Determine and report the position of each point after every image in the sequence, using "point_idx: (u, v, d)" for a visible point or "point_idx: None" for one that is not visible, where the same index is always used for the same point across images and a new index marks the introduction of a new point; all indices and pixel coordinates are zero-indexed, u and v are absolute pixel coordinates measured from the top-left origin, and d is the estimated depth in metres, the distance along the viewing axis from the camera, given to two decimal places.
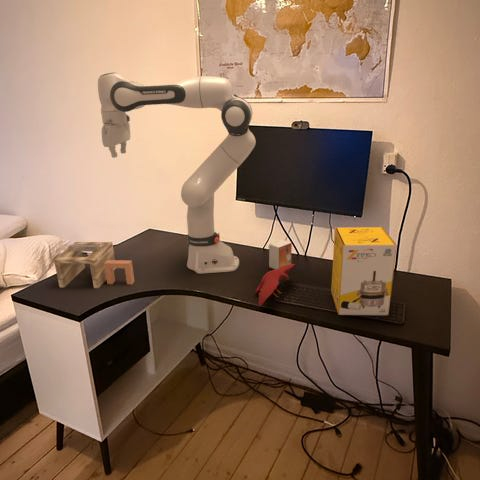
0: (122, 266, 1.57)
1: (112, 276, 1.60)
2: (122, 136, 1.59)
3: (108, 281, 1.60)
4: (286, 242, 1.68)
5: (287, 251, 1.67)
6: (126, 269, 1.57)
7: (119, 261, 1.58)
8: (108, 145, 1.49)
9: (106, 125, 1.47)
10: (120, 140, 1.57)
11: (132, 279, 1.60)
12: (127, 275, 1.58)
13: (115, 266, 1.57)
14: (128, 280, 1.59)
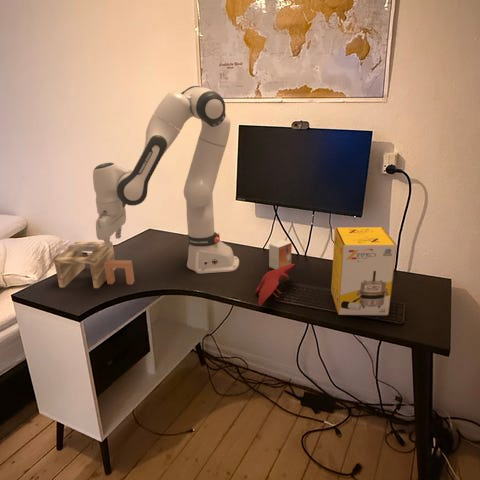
0: (122, 266, 1.57)
1: (112, 276, 1.60)
2: (117, 224, 1.53)
3: (108, 281, 1.60)
4: (286, 242, 1.68)
5: (287, 251, 1.67)
6: (126, 269, 1.57)
7: (119, 261, 1.58)
8: (102, 238, 1.44)
9: (101, 219, 1.42)
10: (115, 229, 1.51)
11: (132, 279, 1.60)
12: (127, 275, 1.58)
13: (115, 266, 1.57)
14: (128, 280, 1.59)
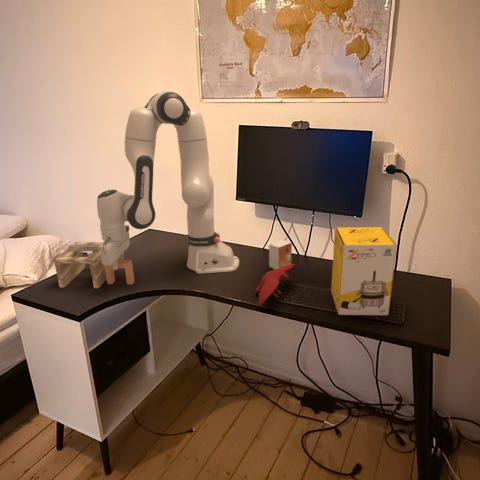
0: (122, 266, 1.57)
1: (112, 276, 1.60)
2: (121, 248, 1.57)
3: (108, 281, 1.60)
4: (286, 242, 1.68)
5: (287, 251, 1.67)
6: (126, 269, 1.57)
7: (119, 261, 1.58)
8: (107, 264, 1.47)
9: (105, 246, 1.46)
10: (119, 253, 1.55)
11: (132, 279, 1.60)
12: (127, 275, 1.58)
13: None
14: (128, 280, 1.59)
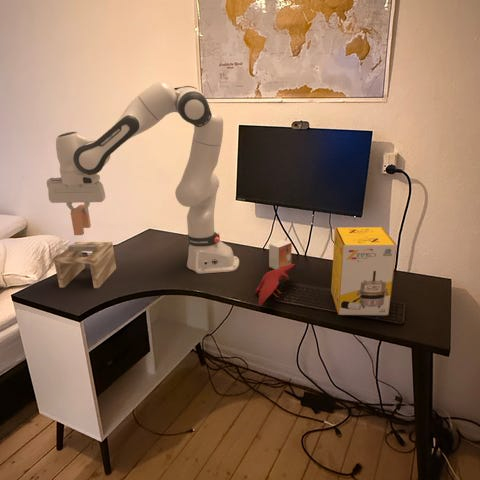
0: None
1: (83, 221, 1.59)
2: (78, 196, 1.51)
3: None
4: (286, 242, 1.68)
5: (287, 251, 1.67)
6: None
7: (79, 208, 1.54)
8: None
9: (49, 182, 1.50)
10: (72, 199, 1.51)
11: (76, 231, 1.52)
12: None
13: None
14: None
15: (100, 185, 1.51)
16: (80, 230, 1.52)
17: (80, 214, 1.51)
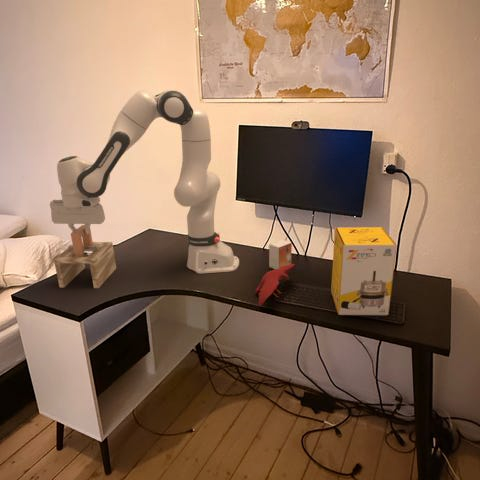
0: None
1: (85, 241, 1.64)
2: (79, 218, 1.55)
3: None
4: (286, 242, 1.68)
5: (287, 251, 1.67)
6: None
7: (80, 229, 1.58)
8: None
9: (52, 204, 1.55)
10: (73, 221, 1.56)
11: (76, 251, 1.57)
12: None
13: None
14: None
15: (99, 207, 1.54)
16: (80, 251, 1.57)
17: (80, 235, 1.56)
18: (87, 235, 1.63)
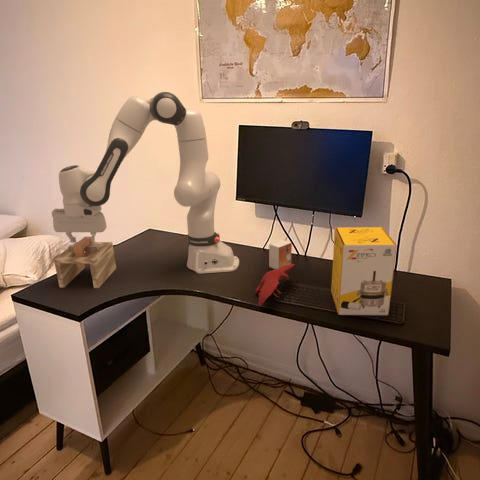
0: None
1: (87, 252, 1.66)
2: (80, 227, 1.56)
3: None
4: (286, 242, 1.68)
5: (287, 251, 1.67)
6: None
7: (83, 241, 1.60)
8: None
9: (54, 212, 1.57)
10: (75, 229, 1.57)
11: (79, 263, 1.59)
12: None
13: None
14: None
15: (101, 216, 1.56)
16: None
17: (83, 247, 1.58)
18: None
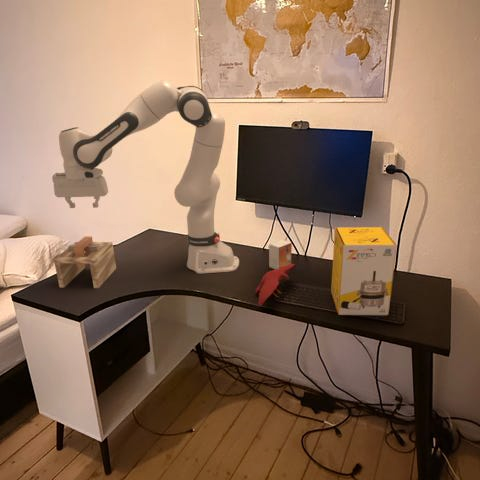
0: None
1: (87, 252, 1.66)
2: (82, 191, 1.54)
3: None
4: (286, 242, 1.68)
5: (287, 251, 1.67)
6: None
7: (83, 241, 1.60)
8: None
9: (55, 177, 1.54)
10: (76, 194, 1.54)
11: (79, 263, 1.59)
12: None
13: None
14: None
15: (102, 179, 1.53)
16: None
17: (83, 247, 1.58)
18: None
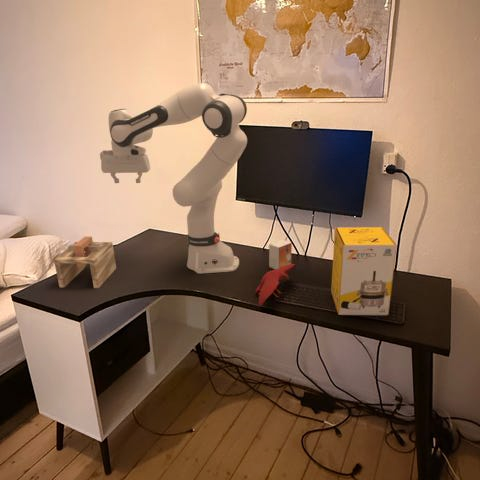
0: None
1: (87, 252, 1.66)
2: (127, 167, 1.69)
3: None
4: (286, 242, 1.68)
5: (287, 251, 1.67)
6: None
7: (83, 241, 1.60)
8: None
9: (102, 154, 1.69)
10: (121, 170, 1.69)
11: (79, 263, 1.59)
12: None
13: None
14: None
15: (146, 157, 1.68)
16: None
17: (83, 247, 1.58)
18: None
